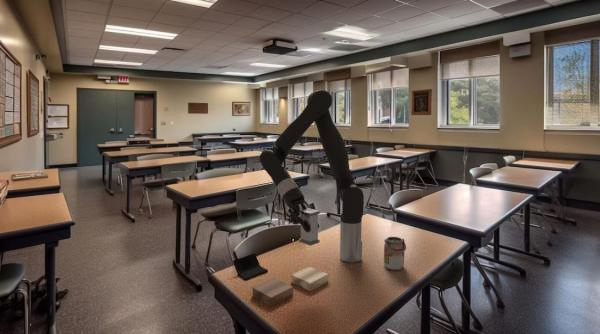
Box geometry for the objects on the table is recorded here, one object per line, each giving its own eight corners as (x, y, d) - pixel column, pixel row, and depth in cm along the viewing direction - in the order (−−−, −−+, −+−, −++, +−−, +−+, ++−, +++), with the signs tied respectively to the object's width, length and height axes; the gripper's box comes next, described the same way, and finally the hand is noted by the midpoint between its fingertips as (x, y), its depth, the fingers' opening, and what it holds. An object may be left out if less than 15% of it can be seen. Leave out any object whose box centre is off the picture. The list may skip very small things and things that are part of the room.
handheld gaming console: (249, 278, 127) (240, 253, 131) (239, 285, 131) (230, 261, 134) (270, 271, 136) (261, 249, 140) (259, 278, 140) (251, 256, 144)
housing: (298, 241, 125) (298, 210, 124) (308, 238, 129) (308, 207, 127) (310, 245, 121) (310, 213, 119) (319, 242, 125) (319, 210, 123)
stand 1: (252, 295, 117) (252, 287, 117) (274, 285, 124) (274, 277, 124) (271, 306, 110) (271, 297, 110) (293, 294, 118) (292, 286, 117)
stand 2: (291, 282, 127) (291, 274, 127) (309, 273, 134) (309, 266, 134) (310, 291, 120) (310, 283, 120) (328, 281, 127) (328, 274, 127)
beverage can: (408, 272, 134) (409, 243, 133) (387, 272, 134) (388, 244, 132) (400, 262, 144) (400, 235, 142) (380, 263, 143) (381, 236, 141)
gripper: (281, 189, 122) (305, 228, 116) (307, 184, 132) (331, 220, 126) (272, 201, 127) (294, 239, 120) (298, 195, 137) (320, 230, 130)
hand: (313, 229), depth 123 cm, fingers closed on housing, 4 cm apart
